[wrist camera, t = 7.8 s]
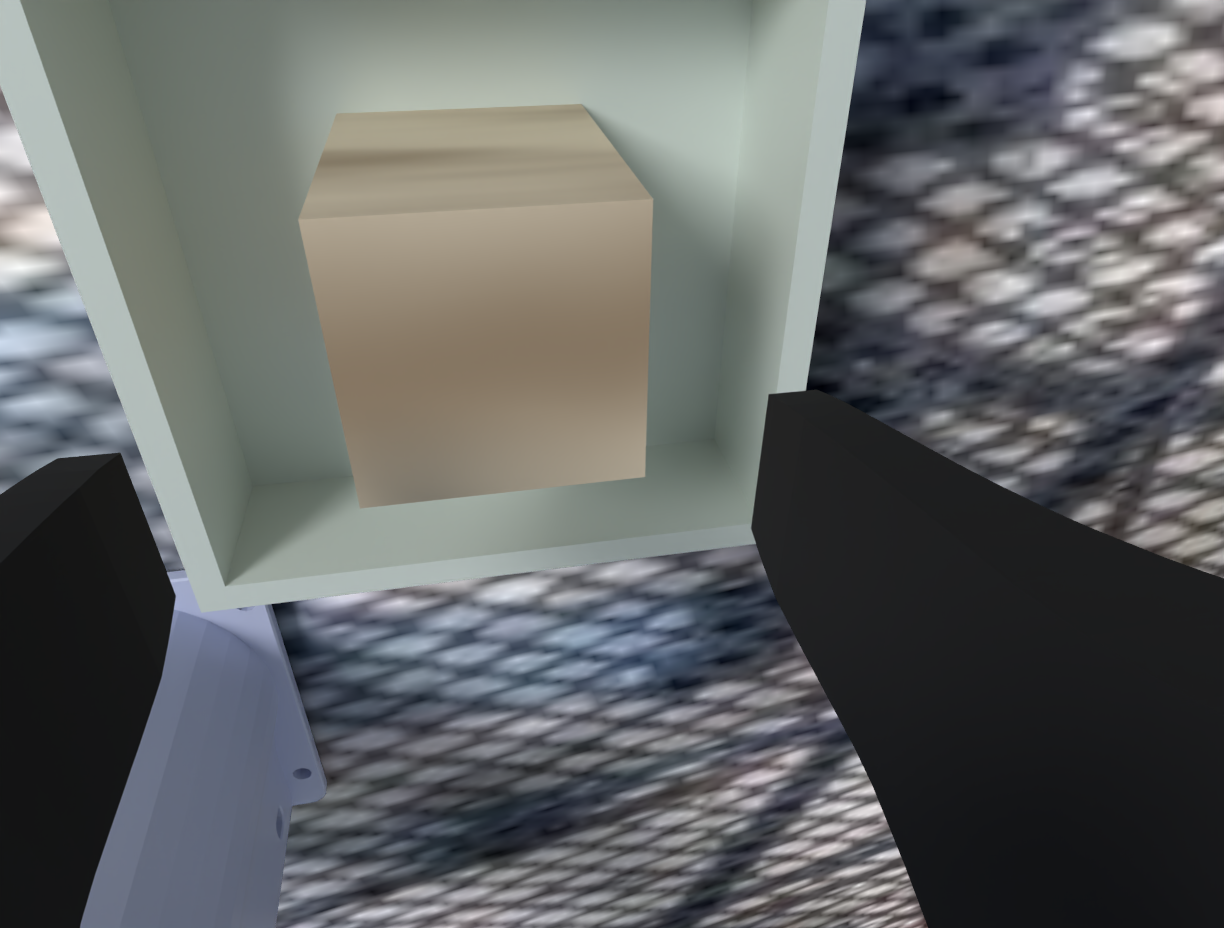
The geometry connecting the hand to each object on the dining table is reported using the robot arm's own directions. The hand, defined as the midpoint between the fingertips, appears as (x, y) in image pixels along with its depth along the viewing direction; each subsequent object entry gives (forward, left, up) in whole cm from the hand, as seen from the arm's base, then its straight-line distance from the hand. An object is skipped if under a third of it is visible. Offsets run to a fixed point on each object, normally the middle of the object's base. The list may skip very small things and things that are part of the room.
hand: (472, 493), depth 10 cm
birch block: (0, -1, -9) cm, 9 cm away
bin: (0, -1, -9) cm, 9 cm away
